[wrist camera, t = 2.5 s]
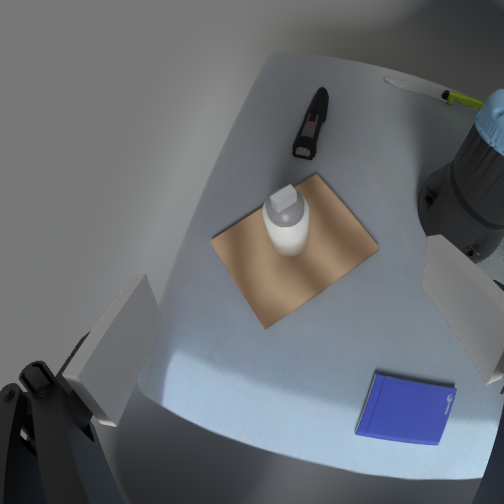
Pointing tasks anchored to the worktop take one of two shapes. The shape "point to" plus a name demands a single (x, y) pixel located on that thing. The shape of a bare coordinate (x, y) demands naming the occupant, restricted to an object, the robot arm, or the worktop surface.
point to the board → (295, 267)
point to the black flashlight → (311, 126)
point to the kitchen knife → (438, 93)
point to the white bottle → (287, 220)
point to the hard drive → (405, 411)
